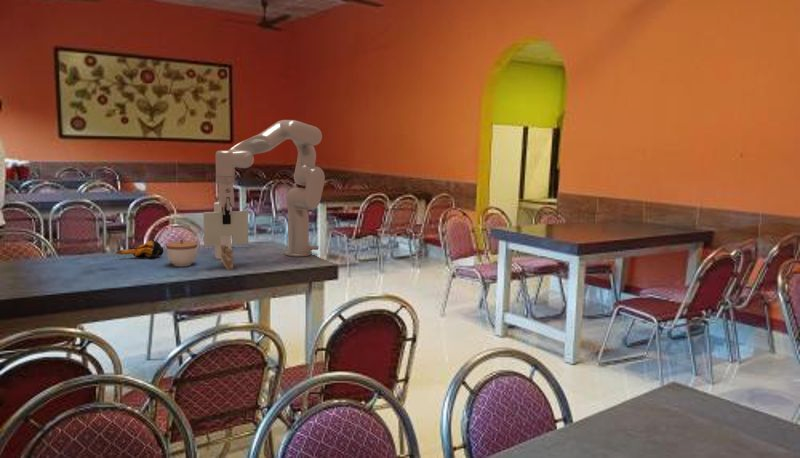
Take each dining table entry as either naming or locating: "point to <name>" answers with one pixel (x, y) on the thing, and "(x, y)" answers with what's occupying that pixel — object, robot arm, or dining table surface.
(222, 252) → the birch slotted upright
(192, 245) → the lidded bowl
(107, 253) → the dining table surface
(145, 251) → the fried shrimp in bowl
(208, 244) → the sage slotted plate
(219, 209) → the cylindrical container
